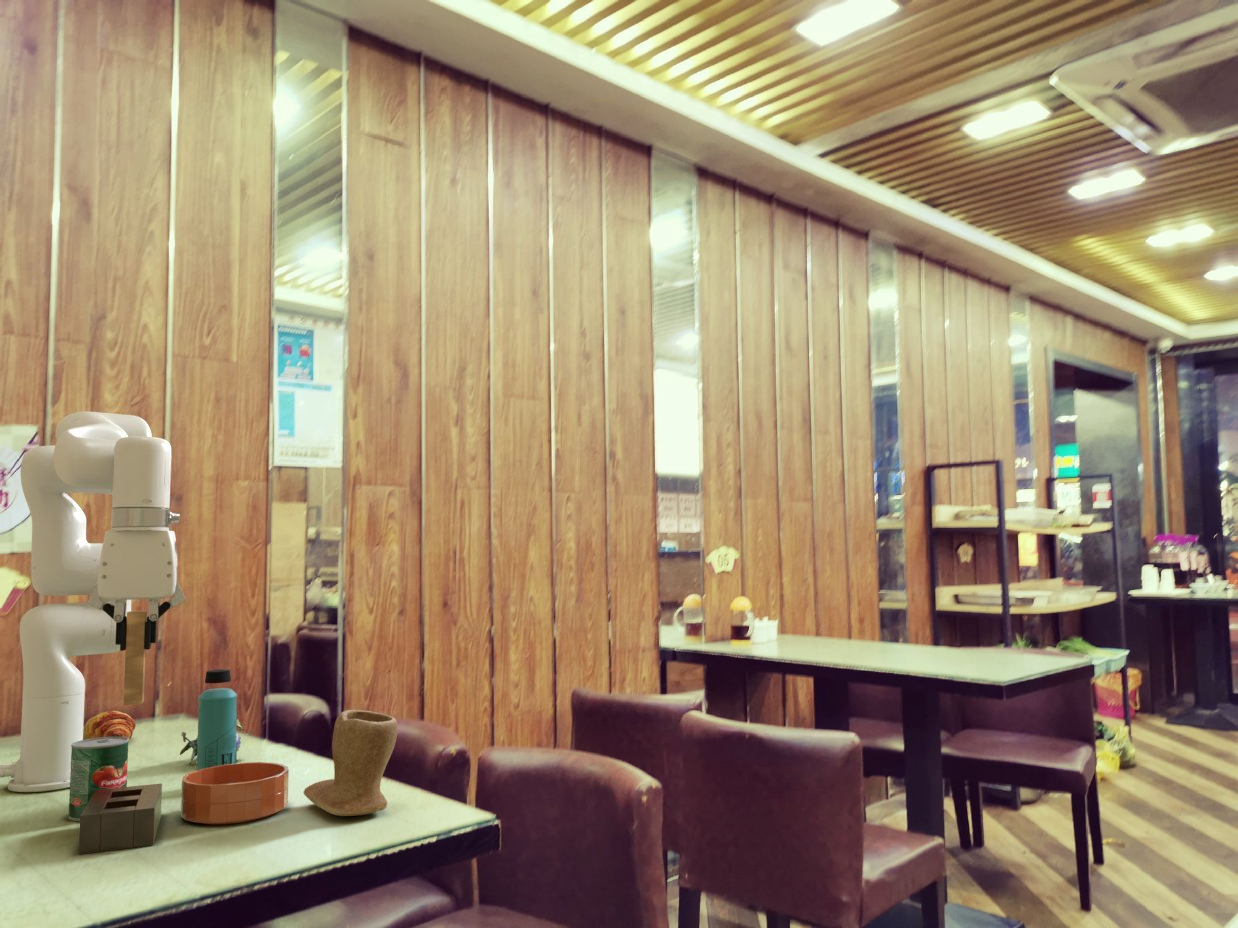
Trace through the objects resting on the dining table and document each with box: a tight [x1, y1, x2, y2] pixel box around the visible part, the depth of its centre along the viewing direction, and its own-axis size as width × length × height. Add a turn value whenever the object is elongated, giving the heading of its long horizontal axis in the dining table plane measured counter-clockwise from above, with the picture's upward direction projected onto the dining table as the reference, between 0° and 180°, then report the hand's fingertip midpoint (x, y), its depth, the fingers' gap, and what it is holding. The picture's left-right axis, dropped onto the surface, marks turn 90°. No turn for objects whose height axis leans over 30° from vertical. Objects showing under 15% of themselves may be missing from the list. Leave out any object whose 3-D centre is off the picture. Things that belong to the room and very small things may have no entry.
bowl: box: [180, 761, 289, 825], centre depth 143 cm, size 15×15×6 cm
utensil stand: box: [78, 783, 163, 855], centre depth 133 cm, size 9×16×5 cm, turn 23°
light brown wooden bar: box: [123, 610, 148, 706], centre depth 133 cm, size 2×2×13 cm
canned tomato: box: [67, 737, 130, 822], centre depth 144 cm, size 8×8×11 cm
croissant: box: [83, 710, 137, 740], centre depth 202 cm, size 21×10×8 cm, turn 41°
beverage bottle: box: [195, 668, 238, 770], centre depth 160 cm, size 6×7×20 cm
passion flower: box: [179, 718, 245, 765], centre depth 179 cm, size 11×11×12 cm
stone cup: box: [303, 709, 399, 817], centre depth 145 cm, size 15×12×15 cm
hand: (135, 648), depth 133 cm, fingers closed on light brown wooden bar, 2 cm apart
